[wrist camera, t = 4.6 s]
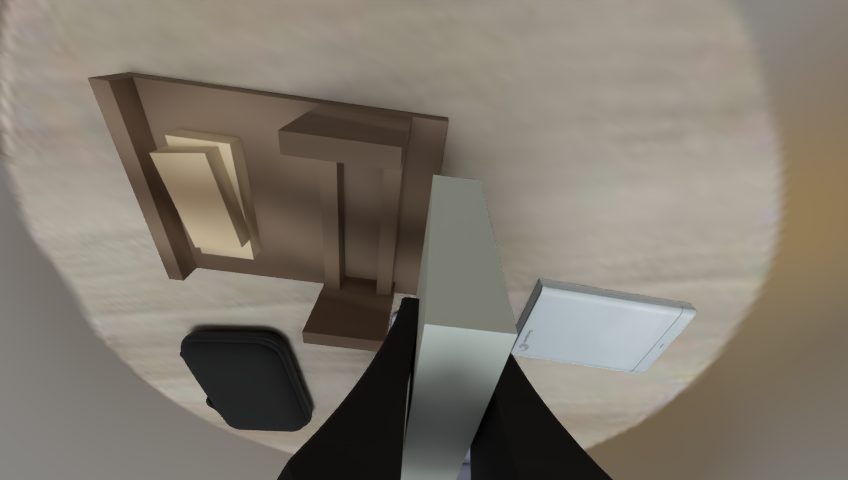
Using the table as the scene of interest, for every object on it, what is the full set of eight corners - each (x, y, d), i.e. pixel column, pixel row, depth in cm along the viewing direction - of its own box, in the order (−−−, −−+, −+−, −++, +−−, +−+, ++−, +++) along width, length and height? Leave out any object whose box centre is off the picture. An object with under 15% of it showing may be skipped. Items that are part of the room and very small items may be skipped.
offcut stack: (264, 249, 23) (247, 270, 21) (210, 242, 23) (188, 263, 21) (243, 138, 19) (219, 151, 17) (177, 129, 19) (145, 141, 17)
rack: (420, 286, 26) (415, 356, 20) (192, 258, 25) (122, 321, 20) (448, 117, 18) (450, 154, 13) (128, 72, 18) (-7, 90, 12)
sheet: (447, 324, 19) (450, 492, 12) (413, 320, 18) (397, 487, 12) (480, 180, 13) (517, 334, 7) (433, 174, 13) (424, 324, 7)
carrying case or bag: (174, 320, 30) (230, 407, 38) (149, 347, 27) (215, 435, 35) (286, 322, 29) (319, 411, 37) (271, 350, 27) (310, 439, 35)
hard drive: (508, 356, 28) (642, 377, 29) (543, 287, 24) (700, 313, 24) (505, 341, 30) (633, 361, 30) (537, 273, 25) (686, 298, 26)
